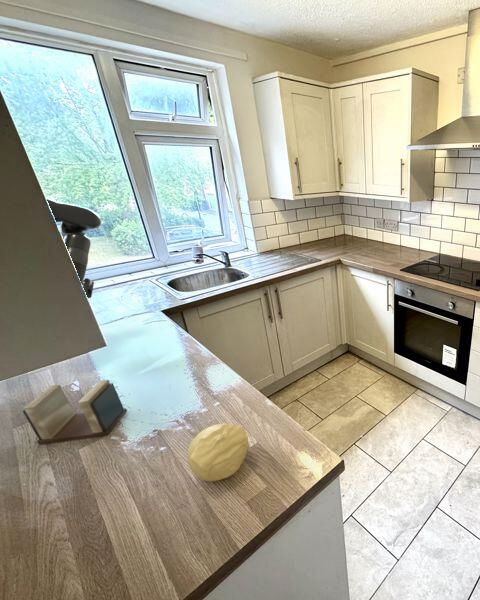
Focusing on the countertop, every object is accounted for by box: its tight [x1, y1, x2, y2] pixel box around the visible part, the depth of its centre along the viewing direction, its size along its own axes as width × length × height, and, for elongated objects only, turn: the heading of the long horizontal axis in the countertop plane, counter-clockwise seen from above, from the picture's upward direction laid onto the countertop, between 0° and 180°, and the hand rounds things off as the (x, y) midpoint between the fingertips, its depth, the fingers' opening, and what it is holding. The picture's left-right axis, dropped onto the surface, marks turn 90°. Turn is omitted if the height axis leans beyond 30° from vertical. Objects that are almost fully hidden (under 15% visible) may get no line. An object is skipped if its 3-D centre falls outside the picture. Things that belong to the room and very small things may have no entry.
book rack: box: [22, 379, 128, 445], centre depth 84 cm, size 15×9×11 cm, turn 101°
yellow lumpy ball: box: [187, 423, 250, 482], centre depth 73 cm, size 11×12×11 cm
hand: (59, 311), depth 100 cm, fingers closed on small box, 7 cm apart
